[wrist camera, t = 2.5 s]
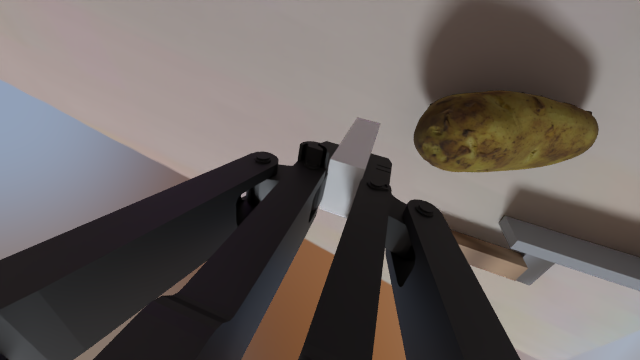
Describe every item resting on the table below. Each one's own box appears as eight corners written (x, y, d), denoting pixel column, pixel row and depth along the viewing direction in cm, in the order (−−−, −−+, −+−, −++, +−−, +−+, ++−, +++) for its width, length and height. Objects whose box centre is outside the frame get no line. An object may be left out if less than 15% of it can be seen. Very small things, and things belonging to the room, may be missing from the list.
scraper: (416, 241, 33) (416, 254, 31) (431, 213, 30) (433, 226, 28) (527, 280, 30) (535, 296, 28) (555, 254, 28) (566, 271, 26)
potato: (514, 184, 25) (550, 237, 19) (401, 132, 26) (398, 164, 20) (592, 112, 20) (677, 148, 14) (450, 50, 21) (468, 57, 15)
